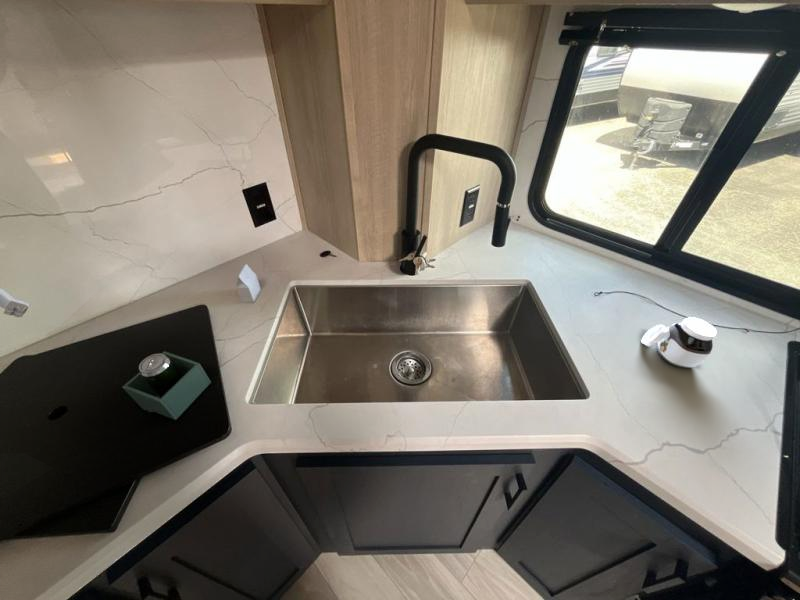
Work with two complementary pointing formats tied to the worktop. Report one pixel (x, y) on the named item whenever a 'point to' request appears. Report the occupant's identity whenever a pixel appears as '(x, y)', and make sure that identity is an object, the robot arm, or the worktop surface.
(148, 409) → the bin
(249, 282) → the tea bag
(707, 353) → the spread jar
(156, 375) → the beer can
